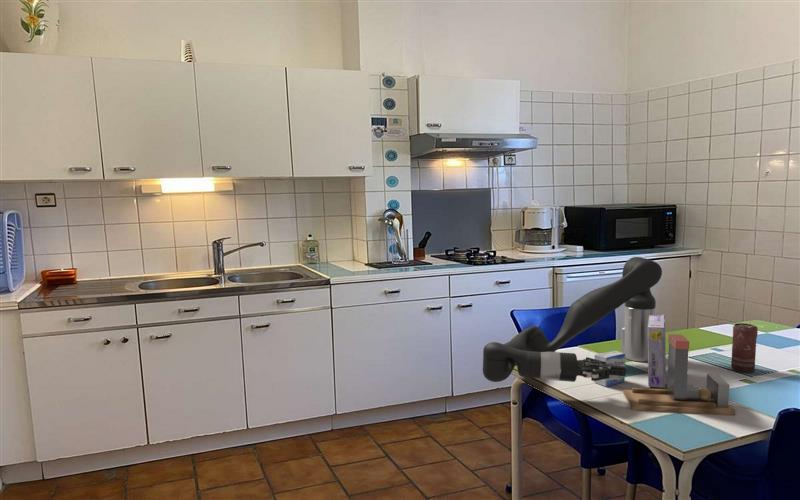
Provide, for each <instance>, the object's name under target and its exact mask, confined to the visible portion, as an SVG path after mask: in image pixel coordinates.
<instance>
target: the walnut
mask: <svg viewBox="0 0 800 500" xmlns="http://www.w3.org/2000/svg"><path fill="white" fill-rule="evenodd" d="M696 389H697V390H698V391H699V398H698V399H699V400H701V401H708V400H709V399H710V398H711V392H710V391H709V390H708V389H707V387H705V386H704V387H703V386H702V387H699V388H696Z"/></svg>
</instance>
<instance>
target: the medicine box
mask: <svg viewBox="0 0 800 500" xmlns="http://www.w3.org/2000/svg"><path fill="white" fill-rule="evenodd" d="M594 359H596V360H600V361H603V362H606V364H610V365H613V366H624V367H625V368H626V366H625V365H626V358H625V354H624V353H621V351H619V350H618V351H617V350H610V351H606V352H605V351H604V352H600V353H597V354H594ZM625 377H626V375H625V376H616V375H611V376H610V377H609V378H608V379H603V380H598V381H593V382H594V383H595V384H598V385H600V386H603V387H605V388H607V387H612V386H615V385H618V384H622V383H624V382H625Z"/></svg>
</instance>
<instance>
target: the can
mask: <svg viewBox="0 0 800 500" xmlns="http://www.w3.org/2000/svg"><path fill="white" fill-rule="evenodd" d="M758 333H759V332H758V326H756V325H754V324H751V323H743V322H742V323H741V322H739V323H734V326H732V343H731V345H732V347H731V364H730V365H731V366H730V367H731V369H732V370H733V371H735V372H738V373H743V374H744V373H745V374H749V373H751V374H752V373H753V372H754V371H755V370H756V353H757V339H758V338H757V337H758Z"/></svg>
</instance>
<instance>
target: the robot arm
mask: <svg viewBox="0 0 800 500" xmlns="http://www.w3.org/2000/svg"><path fill="white" fill-rule="evenodd" d="M662 269H663V268H662V267H661V265H660V264H659V263H658V262H656V261H654V260H652V259H649V258H644V257H640V256H634V257H631V258H629V259H628V260H626V262H625V263H624V264H623V268H622V276H621V278H619V279H618V280H616V281H614V282H612V283H609V284H607V285H604V286H600V287H598V288H595V289H593V290H590V291H589V292H588V293H585V294H583V295H582V296H581V297H580V298H578V299H576V300H575V301H573V302H572V303H571V304H570V305H569V308H568V310H567V313H566V315H565V318H564V321H563V323H562V325H561V328H560V330H559V331H558V333H557V335H556V336H555V337H554V339H553V340H552V341H550V340H549V339H548V338H547V337H546V335H545V334H544V332H543V331H542V329H541V328H539V327H538V326H536V325H532V326H529V327H526V328H525V329H524V330H522V331H520V332H519V333H518V334H516V335H515V336H513V338H511V339H510V340H508V342H506V343H501V342H497V341H496V342H495V341H493V342H489V343H487V344H486V345H484V347H483V352H482V354H483V355H482V373H483V376H484V378H485V379H486V380H488V381H490V382H492V383H499V382H503V381H505V380H506V379H507V378H509V377H510V375H511V374H512V372H513V370H514V369H515V367H517V372H518V375H519V376H520V377H522V378H523V377H524V378H533V379H544V380H547V381H558V382H571V383H574V382H577V381H576V380H577V377H578V376H579V377H583V378H585V379H591V381H592V382H594V381H598V380H603V379H608V378H609V377H610V376H611V375H616V376H625V377H626V375H627V368H626V366H625V367H624V366H613V365H610V364H606V362H603V361H600V360H596V359H595V358H592V357H587V356H586V357H585V359H584V358H583V359H578V357H577V354H576V353H573V352H560V351H558V350H559V349H561V347H563V346H564V345H566V344H567V343H568V342H569V341H571V340H572V339H574V338H575V337H576V336H578V335H580V334H581V333H583V332H584V331H586V330H587V329H589V328H591V327H592V326H594V325H595V324H597V323H598V322H599V321H601V320H603V319H604V318H605V317H607V316H608V315H609V314H611V313H612V312H614V311H615V310H616V309H618V308H620V307H621V306H622V305H623V304H624V326H623V327H621V331H620V332H621V336H620V338H621V339H620V352H621V353H624V354H625V360H626V359H627V360H630V361H635V362H648V322H649V315H656V308H657V307H656V298H655V297H654V295H653V294H652V291H651V288H653V287H654V286H656V285H657V284H658V283H659V281H660V280H661V278H662V274H663V270H662Z"/></svg>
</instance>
